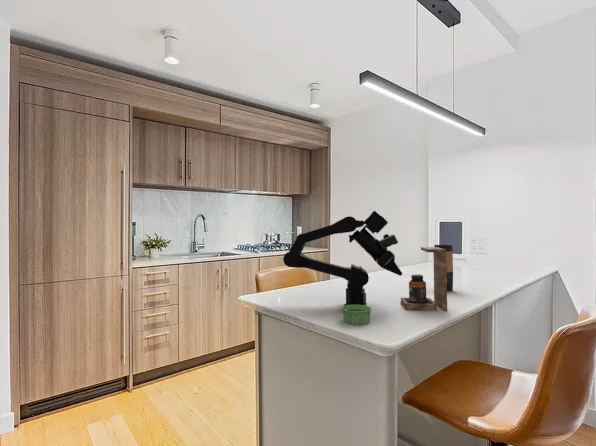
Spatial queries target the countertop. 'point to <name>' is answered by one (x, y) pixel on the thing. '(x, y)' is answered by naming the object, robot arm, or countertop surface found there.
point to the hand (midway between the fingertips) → (399, 272)
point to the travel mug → (448, 265)
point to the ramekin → (356, 314)
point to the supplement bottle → (417, 290)
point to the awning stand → (439, 283)
